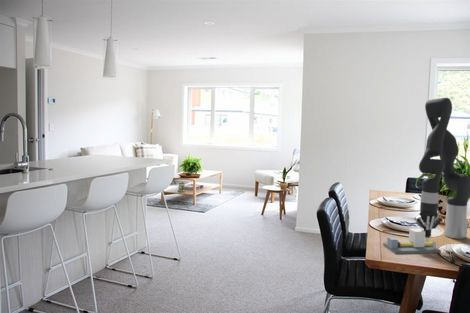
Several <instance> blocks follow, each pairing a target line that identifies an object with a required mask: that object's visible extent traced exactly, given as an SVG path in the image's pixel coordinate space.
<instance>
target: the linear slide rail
mask: <svg viewBox="0 0 470 313" xmlns="http://www.w3.org/2000/svg"><path fill="white" fill-rule="evenodd" d="M429 239H430V238H426V237H425V247H413V243H409V241H405V242H404V241H403V242H400V241H399V239H397V238H396V237H394V236H387V240H386V241H387V242H383V243H382V244H383V246H384V247H385V248H386V249H388V250H390V251H391V252H392V253H393V254H396V255H397V254H398V255H399V254H434V253H435V254H437V253H438V254H440V253H442V249H440V248H438V247H437V241H436V240H432V241H429Z"/></svg>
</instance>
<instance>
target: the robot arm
mask: <svg viewBox="0 0 470 313" xmlns="http://www.w3.org/2000/svg"><path fill="white" fill-rule="evenodd" d="M424 106H425V107H424V108H425V113H426V116H427V120H428V122H429V125H430V127H431V129H432V130H431V132H430V133H429V134H428V137H427V139H426V144H425V145H426V146H425V150H424V153H423V156H422V158H421V160H420V162H419V165H418V169H419V172H421V173H422V174H427V175H434V176H433V177H430V178H429V177H428V178H424V179H422V182H421V184H422V185H421V193H420V206H419V207H420V208H419V211H420V212H419V215H417V217H414V221H415V222H416V223H417V225H418V226H419V227H420V229H421V228H422V230H423V231H425V239H426V238H429V239H430V238H431V236H432V230H434V229H436V228H437V227H438V225H439V224H440V223H441V222H442V221H443V219H442V217H440V216H439V215H438V211H439V200H440V199H439V189H440V188H439V187H440V182H441V181H440V180H441V178H442V177H443V182H444V185H445V188H446V189H448V190H450V191H453V192H456V194H455V195H454V196H450V197H448V198H447V200H446V212H445V213H446V214H445V225H444V227H445V228H444V236H445V237H448V238H451V239H455V240H456V239H457V240H458V239H459V240H462V239H467V234H468V222H469V220H468V219H467V210H468V209H467V208H468V202H469V199H470V176H469V175H468V174H464V173H458V172H456V170H455V161H456V158H457V157H458V154H459V146H458V142H457V139H456V137H455V135H454V134H452V132H450V131H449V130H448V126H449V122H450V119H451V116H452V112H453V103H452V101H451V99H450V98H448V97H440V98H433V99H429V100H427V101H426V102H425V105H424ZM436 157H439V158H438V159H437V158H436ZM442 175H443V176H442Z"/></svg>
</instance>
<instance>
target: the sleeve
mask: <svg viewBox="0 0 470 313" xmlns="http://www.w3.org/2000/svg"><path fill="white" fill-rule="evenodd" d="M408 229H409V231H408V242H409V243H413V247H425V240H426V237H425V231H424V229H421V228H408Z"/></svg>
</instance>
